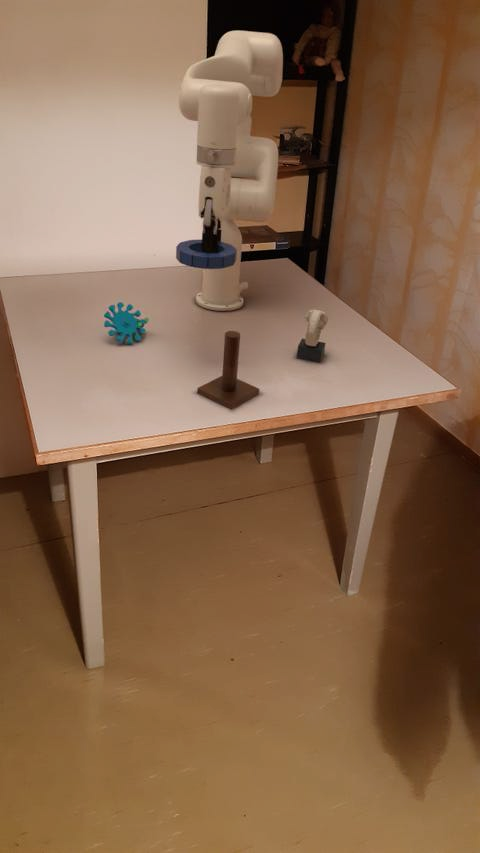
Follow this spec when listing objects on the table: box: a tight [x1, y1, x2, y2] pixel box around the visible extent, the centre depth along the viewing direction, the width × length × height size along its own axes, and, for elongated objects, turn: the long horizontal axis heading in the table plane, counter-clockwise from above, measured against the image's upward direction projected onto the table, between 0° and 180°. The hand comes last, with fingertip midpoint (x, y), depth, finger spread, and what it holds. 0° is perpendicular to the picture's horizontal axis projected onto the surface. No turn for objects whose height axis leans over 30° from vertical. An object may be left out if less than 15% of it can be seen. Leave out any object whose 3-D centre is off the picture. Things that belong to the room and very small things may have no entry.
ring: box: [175, 239, 237, 270], centre depth 135 cm, size 12×12×2 cm
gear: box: [103, 301, 150, 345], centre depth 154 cm, size 11×6×10 cm
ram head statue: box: [296, 309, 329, 364], centre depth 150 cm, size 6×8×11 cm
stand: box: [196, 330, 261, 410], centre depth 132 cm, size 9×9×13 cm
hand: (211, 249), depth 139 cm, fingers closed on ring, 2 cm apart
